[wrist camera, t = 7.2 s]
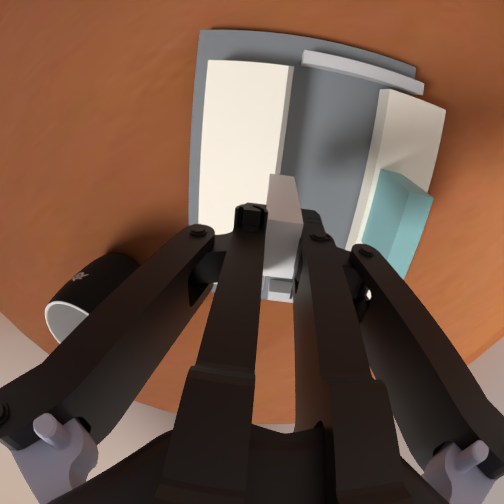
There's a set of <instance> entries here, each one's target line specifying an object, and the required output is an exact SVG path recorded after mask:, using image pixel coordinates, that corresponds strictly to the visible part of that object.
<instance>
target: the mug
mask: <svg viewBox="0 0 504 504" xmlns="http://www.w3.org/2000/svg"><path fill="white" fill-rule="evenodd" d="M139 267H140V266H139V265H138V264H137V263H136V262H135V261H134V260H133V259H131V258H129V257H127V256H125V255H122V254H117V253H112V254H107V255H104V256H101V257H99V258H98V259H96V260H94V261H93V262H91V263H90V264H88V265H87V266H86V267H84V268H83V269H82V270H81V271H79V272H78V273H77V274H76V275H75V276H74V277H73V278H71V279H70V280H69V281H68V282H67V283H66V284H65V285H64V286H63V287H62V288H61V289H60V290H59V291H58V292H57V293H56V295H55V296H54V297H53V298H52V299H51V301H50V302H49V303H48V305H47V307H46V309H45V319H46V322H47V325H48V327H49V329H50V331H51V333H52V334H53V336H54V337H55V339H56V340H57V341H58V342H59V343H61V342H62V341H63V340H64V339H65V338H66V337H67V336H68V335H69V334H70V333H71V332H72V331H73V330H74V329H75V328H76V327H77V326H78V325H79V324H80V323H81V322H82V321H83V320H84V319H85V318H86V317H87V316H88V315H89V314H90V313H91V312H92V311H93V310H94V309H95V308H96V307H97V306H98V305H99V304H100V303H101V302H102V301H103V300H104V299H105V298H106V297H108V296H109V295H110V294H111V293H112V292H113V291H114V290H115V289H116V288H117V287H118V286H119V285H120V284H121V283H122V282H124V281H125V280H126V279H127V278H128V277H129V276H130V275H131V274H132V273H133V272H134V271H135V270H137V269H138V268H139Z"/></svg>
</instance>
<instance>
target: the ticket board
mask: <svg viewBox="0 0 504 504" xmlns="http://www.w3.org/2000/svg"><path fill="white" fill-rule="evenodd" d="M415 73H416V67H413V66H411V65H408V64H406V63H403V62H400V61H397V60H394V59H392V58H389V57H386V56H382V55H379V54H376V53H373V52H369V51H366V50H362V49H359V48H355V47H351V46H347V45H343V44H339V43H334V42H330V41H325V40H320V39H314V38H309V37H303V36H296V35H289V34H281V33H272V32H261V31H247V30H200V36H199V44H198V53H197V62H196V72H195V83H194V95H193V108H192V123H191V142H190V166H189V226H190V225H193V224H202V225H207V226H210V227H212V228H213V229H214V231H215V235H220V234H227V233H230V232H232V231H233V228H234V216H235V208H236V207H237V206H239V205H241V204H246V203H247V202H249V203H257V204H265V205H266V199H267V191H268V183H269V175H270V174H278V175H286V176H293V177H294V178H295V183H296V188H297V193H298V198H299V203H300V208H302V209H309V210H315V211H316V212H317V213H318V214H319V215H320V217H321V221H322V223H323V226H324V229H325V232H326V233H328V234H329V235H331V236H332V237H333V239H334V241H335V244H336V246H337V247H339V248H341V249H344V250H345V247H346V244H347V240H348V237H349V233H350V230H351V226H352V222H353V219H354V215H355V211H356V207H357V203H358V199H359V195H360V191H361V187H362V182H363V178H364V174H365V169H366V164H367V160H368V155H369V150H370V145H371V140H372V134H373V129H374V123H375V118H376V112H377V105H378V99H379V92H380V89H392V90H395V91H398V92H401V93H404V94H407V95H409V96H413V95H423V90H424V83H422V82H420V81H417V80H415ZM293 280H294V272H293V277H292V279H288V278H279V277H271V276H263V277H262V289H261V299H266V300H274V301H283V302H291V303H293V297H292V299H289V298H290V293H291V289H292V285H293ZM216 287H217V283H214V286H213V288H212V290H211V291H210V292H215V290H216Z"/></svg>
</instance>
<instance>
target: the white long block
mask: <svg viewBox="0 0 504 504" xmlns="http://www.w3.org/2000/svg"><path fill="white" fill-rule="evenodd" d="M445 113H446V110H445V109H442V108H440V107H438V106H435V105H433V104H430V103H428V102H425V101H423V100H420V99H418V98H415V97H412V96H409V95H407V94H404V93H401V92H398V91H395V90H392V89H380V92H379V99H378V105H377V112H376V118H375V123H374V129H373V134H372V140H371V145H370V150H369V155H368V160H367V164H366V169H365V174H364V178H363V182H362V187H361V191H360V195H359V199H358V203H357V207H356V211H355V215H354V219H353V222H352V226H351V230H350V233H349V237H348V240H347V244H346V247H345V250H348V251H351V249H352V246H353V245H355V244H367V245H370V246H372V247H373V248H375V249H377V250H378V251H379V252H380V253H381V254H382V256H383V257H384V258H385V259H386V260H387V261H388V262H389V264H390V265H391V266H392V267H393V268H394V269H395V271H396V272H397V273H398V274H399V275H400V277H401V278H402V279H403V280H404V277H405V275H406V273H407V270H408V268H409V266H410V263H411V261H412V258H413V256H414V253H415V251H416V248H417V246H418V243H419V240H420V237H421V235H422V232H423V229H424V226H425V223H426V221H427V218H428V215H429V212H430V208H431V205H432V202H433V199H434V198H433V197H432V196H431V195H429V194H428V193H427V192H428V189H429V185H430V182H431V178H432V174H433V170H434V167H435V162H436V158H437V154H438V150H439V145H440V140H441V135H442V130H443V125H444V119H445ZM367 297H368V298H369V299H370V298H371V292H370V290H368V293H367Z"/></svg>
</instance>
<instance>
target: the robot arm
mask: <svg viewBox="0 0 504 504" xmlns="http://www.w3.org/2000/svg"><path fill="white" fill-rule="evenodd" d="M293 272H294V280H293V285H292V289H291V293H290V298H289V299H292V297H293V313H294V342H295V394H296V420H295V428H294V432H293V433H288V434H284V433H280V432H276V431H272V430H269V429H266V428H263V427H260V426H257V425H254V424H251V423H252V412H253V401H254V389H255V361H256V350H257V338H258V326H259V314H260V302H261V289H262V277H263V276H271V277H279V278H288V279H292V277H293ZM214 283H217V287H216V290H215V294H214V298H213V301H212V305H211V308H210V312H209V316H208V319H207V323H206V327H205V331H204V334H203V338H202V342H201V346H200V349H199V353H198V357H197V361H196V364H195V366H191V367H190V369H189V372H188V375H187V378H186V382H185V385H184V389H183V393H182V397H181V400H180V404H179V408H178V412H177V416H176V420H175V424H174V428H173V430H170V431H168V432H166V433H164V434H162V435H160V436H158V437H156V438H155V439H153V440H152V441H150V442H149V443H147V444H146V445H145V446H143V447H142V448H140V449H138V450H137V451H136V452H134V453H132V454H131V455H129V456H128V457H126V458H125V459H123V460H122V461H120V462H119V463H117V464H115V465H114V466H112V467H111V468H109V469H107V470H106V471H104V472H102V473H101V474H99V475H97V476H96V477H94V478H92V479H90V480H89V481H87V482H86V479H87V476H88V473H89V472H90V471H91V470H92V469H93V468H94V467H95V466H96V464H97V460H98V449H97V444H99V443H100V442H101V441H102V440H103V439H104V438H105V437H106V436H107V435H108V434H109V433H110V432H111V431H112V430H113V429H114V427H115V426H116V425H117V423H118V422H119V421H120V419H121V418H122V417H123V415H124V414H125V412H126V411H127V409H128V408H129V406H130V405H131V404H132V402H133V401H134V399H135V398H136V396H137V395H138V393H139V392H140V391H141V389H142V388H143V386H144V385H145V383H146V382H147V380H148V379H149V378H150V376H151V375H152V373H153V372H154V370H155V369H156V368H157V366H158V365H159V363H160V362H161V360H162V359H163V358H164V356H165V355H166V353H167V352H168V350H169V349H170V348H171V346H172V345H173V343H174V342H175V341H176V339H177V338H178V336H179V335H180V333H181V332H182V331H183V329H184V328H185V326H186V325H187V324H188V322H189V321H190V319H191V318H192V317H193V315H194V314H195V312H196V311H197V309H198V308H199V307H200V305H201V304H202V302H203V301H204V300H205V298H206V297H207V295H208V294H209V293H210V291H211V290H212V288H213V286H214ZM368 290H370V292H371V298H370V299H369V298H368V297H367V293H368ZM369 366H370V367H369ZM370 368H371V370H372V372H373V374H374V376H375V378H376V380H374V379H373V378H372V375H371V371H370ZM393 415H394V418H395V420H396V422H397V424H398V426H399V428H400V431H401V433H402V435H403V438H404V440H405V442H406V444H407V446H408V448H409V450H410V452H411V454H412V455H413V457H414V459H415V460H416V462H417V463H418V465H419V466H420V467H421V468H422V469H423V471H424V474H423V475H421V476H420V475H419V474H418V473H417V472H416V471H415V470H414V469H413V468H412V467H411V466H410V465H409V464H408V463H407V462H406V461H405V460H404V459H403V458H402V457H401V456H400V452H399V446H398V440H397V434H396V429H395V424H394V418H393ZM0 442H1V443H2V444H3V445H5V446H6V447H7V448H8V449H9V450H10V451H11V453H12V454H13V457H14V459H15V461H16V463H17V465H18V467H19V469H20V471H21V472H22V474H23V476H24V478H25V480H26V482H27V483H28V485H29V487H30V489H31V490H32V492H33V493H34V495H35V497H36V498H37V500H38V502H39V503H40V504H481V503H482V502H483V500H484V499H485V497H486V496H487V494H488V492H489V491H490V489H491V487H492V486H493V484H494V482H495V481H496V480H497V479H498V478H500V477H501V476H503V475H504V416H503V415H502V414H501V413H500V412H499V411H498V410H497V409H496V408H495V407H494V406H493V405H492V404H491V403H490V402H489V401H488V399H487V398H486V396H485V394H484V393H483V391H482V389H481V388H480V386H479V384H478V383H477V381H476V380H475V378H474V376H473V375H472V373H471V372H470V370H469V369H468V367H467V365H466V364H465V362H464V361H463V359H462V358H461V356H460V355H459V353H458V352H457V350H456V349H455V347H454V346H453V345H452V343H451V342H450V340H449V339H448V337H447V336H446V335H445V333H444V332H443V331H442V329H441V328H440V326H439V325H438V324H437V322H436V321H435V320H434V318H433V317H432V316H431V314H430V313H429V312H428V310H427V309H426V308H425V306H424V305H423V304H422V303H421V301H420V300H419V299H418V297H417V296H416V295H415V294H414V292H413V291H412V290H411V289H410V288H409V286H408V285H407V284H406V283H405V281H404V280H403V279H402V278H401V277H400V275H399V274H398V273H397V272H396V271H395V269H394V268H393V267H392V266H391V265H390V264H389V262H388V261H387V260H386V259H385V258H384V257H383V256H382V254H381V253H380V252H379V251H378V250H377V249H375V248H373V247H372V246H370V245H367V244H355V245H353V246H352V249H351V251H348V250H344V249H341V248H339V247H337V246H336V244H335V241H334V239H333V237H332V236H331V235H329V234H328V233H326V232H325V229H324V226H323V223H322V221H321V217H320V215H319V214H318V213H317V212H316V211H315V210H309V209H302V208H300V203H299V198H298V193H297V188H296V183H295V178H294V177H293V176H286V175H278V174H270V175H269V183H268V191H267V199H266V205H265V204H257V203H249V202H247V203H246V204H241V205H239V206H237V207H236V208H235V216H234V228H233V231H232V232H230V233H227V234H220V235H215V231H214V229H213V228H212V227H210V226H207V225H202V224H193V225H190V226H187V227H185V228H184V229H182V230H181V231H180V232H179V233H178V234H176V235H175V236H174V237H173V238H172V239H171V240H169V241H168V242H167V243H166V244H165V245H164V246H162V247H161V248H160V249H159V250H158V251H157V252H156V253H154V254H153V255H152V256H151V257H150V258H149V259H148V260H147V261H145V262H144V263H143V264H142V265H141V266H140V267H139V268H138V269H137V270H135V271H134V272H133V273H132V274H131V275H130V276H129V277H128V278H127V279H126V280H125V281H124V282H122V283H121V284H120V285H119V286H118V287H117V288H116V289H115V290H114V291H113V292H112V293H111V294H110V295H109V296H108V297H106V298H105V299H104V300H103V301H102V302H101V303H100V304H99V305H98V306H97V307H96V308H95V309H94V310H93V311H92V312H91V313H90V314H89V315H88V316H87V317H86V318H85V319H84V320H83V321H82V322H81V323H80V324H79V325H78V326H77V327H76V328H75V329H74V330H73V331H72V332H71V333H70V334H69V335H68V336H67V337H66V338H65V339H64V340H63V341H62V342H61V343H60V345H59V346H58V347H57V348H56V349H55V350H54V351H53V352H52V353H51V354H50V355H49V356H48V357H47V358H46V360H45V361H44V362H43V363H42V364H40V365H38V366H36V367H35V368H33V369H31V370H30V371H28V372H26V373H25V374H23V375H21V376H20V377H18V378H16V379H15V380H13V381H11V382H10V383H8V384H6V385H5V386H3V387H1V388H0Z"/></svg>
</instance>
